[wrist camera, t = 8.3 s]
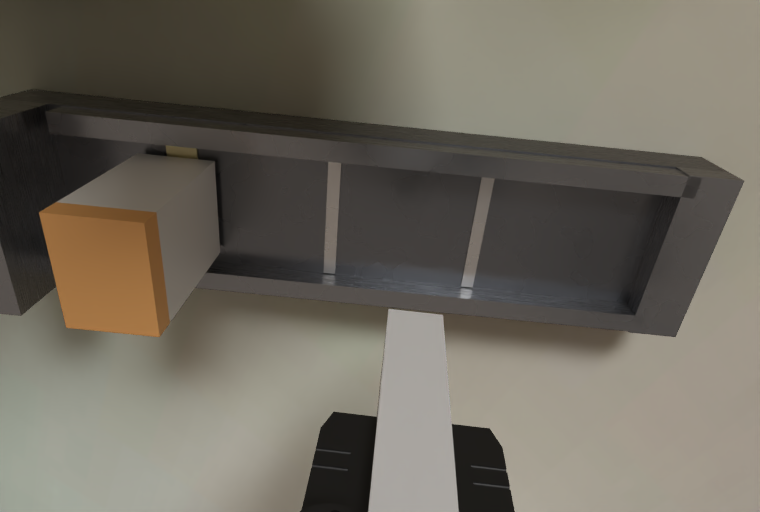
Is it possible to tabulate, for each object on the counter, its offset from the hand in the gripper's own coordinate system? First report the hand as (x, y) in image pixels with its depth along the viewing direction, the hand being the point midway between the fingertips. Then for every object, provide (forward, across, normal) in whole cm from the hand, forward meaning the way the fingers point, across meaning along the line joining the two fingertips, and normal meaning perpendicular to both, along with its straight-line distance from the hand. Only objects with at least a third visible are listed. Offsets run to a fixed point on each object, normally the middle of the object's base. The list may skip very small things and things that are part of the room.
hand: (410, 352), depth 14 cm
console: (+10, +2, -1) cm, 10 cm away
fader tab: (+7, +10, -1) cm, 12 cm away
